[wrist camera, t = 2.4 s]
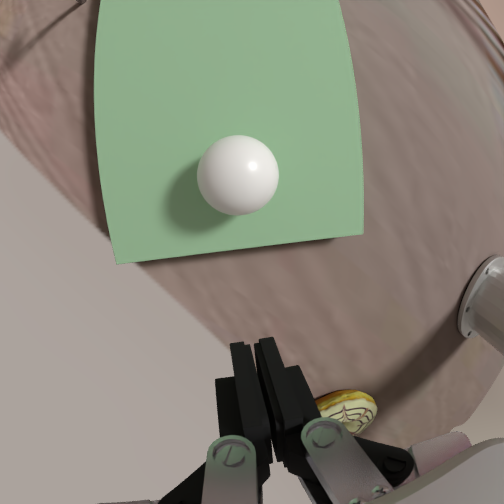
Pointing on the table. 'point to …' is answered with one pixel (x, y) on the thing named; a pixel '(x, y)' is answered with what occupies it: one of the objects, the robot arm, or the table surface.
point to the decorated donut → (349, 409)
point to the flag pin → (81, 1)
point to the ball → (237, 175)
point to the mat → (224, 121)
